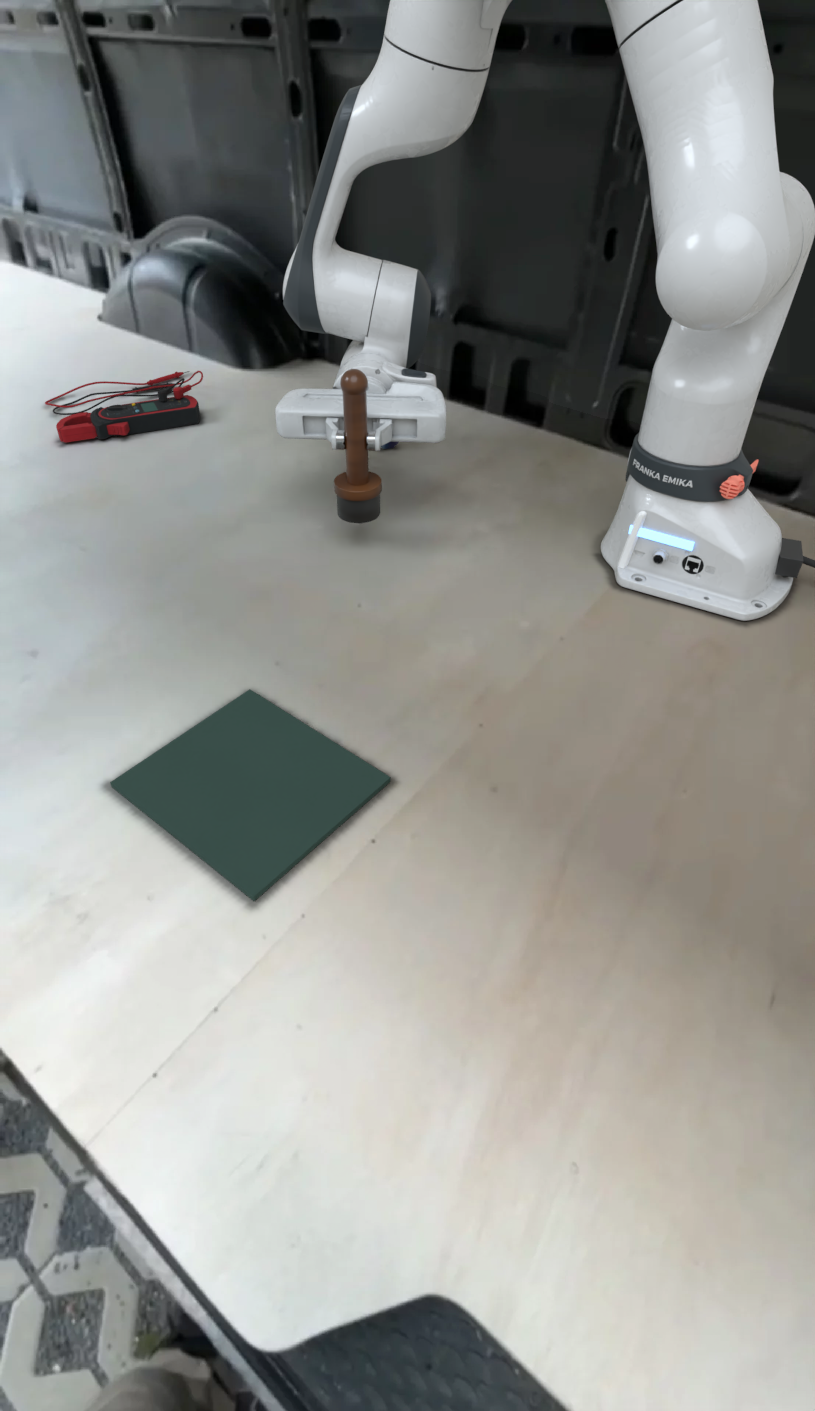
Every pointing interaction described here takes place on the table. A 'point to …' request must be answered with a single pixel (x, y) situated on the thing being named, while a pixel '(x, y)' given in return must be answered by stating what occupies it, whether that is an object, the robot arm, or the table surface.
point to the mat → (251, 790)
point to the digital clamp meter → (131, 411)
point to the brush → (356, 456)
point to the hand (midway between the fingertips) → (355, 444)
